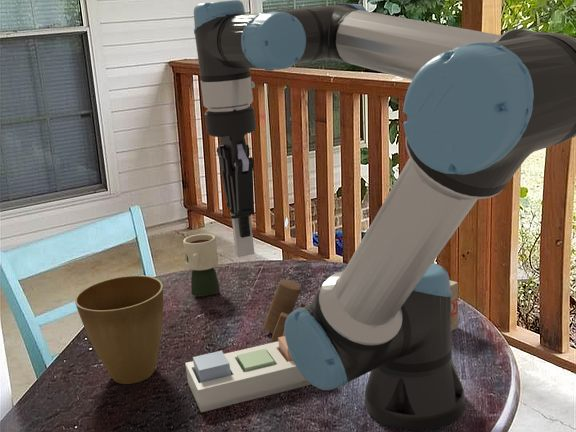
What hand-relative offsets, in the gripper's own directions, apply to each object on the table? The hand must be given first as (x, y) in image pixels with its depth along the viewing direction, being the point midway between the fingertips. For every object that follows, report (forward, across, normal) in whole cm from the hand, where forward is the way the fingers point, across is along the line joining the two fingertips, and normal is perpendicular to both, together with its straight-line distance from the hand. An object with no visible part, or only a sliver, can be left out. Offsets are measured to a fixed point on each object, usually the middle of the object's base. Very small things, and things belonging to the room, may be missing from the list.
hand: (245, 254), depth 118 cm
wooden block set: (+24, +14, -10) cm, 29 cm away
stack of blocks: (+24, +11, -34) cm, 42 cm away
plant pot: (+23, +14, +20) cm, 33 cm away
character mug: (+23, +43, -1) cm, 49 cm away
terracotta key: (+21, 0, -7) cm, 22 cm away
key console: (+23, 0, 0) cm, 23 cm away
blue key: (+21, 0, +8) cm, 22 cm away
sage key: (+22, 0, 0) cm, 22 cm away
